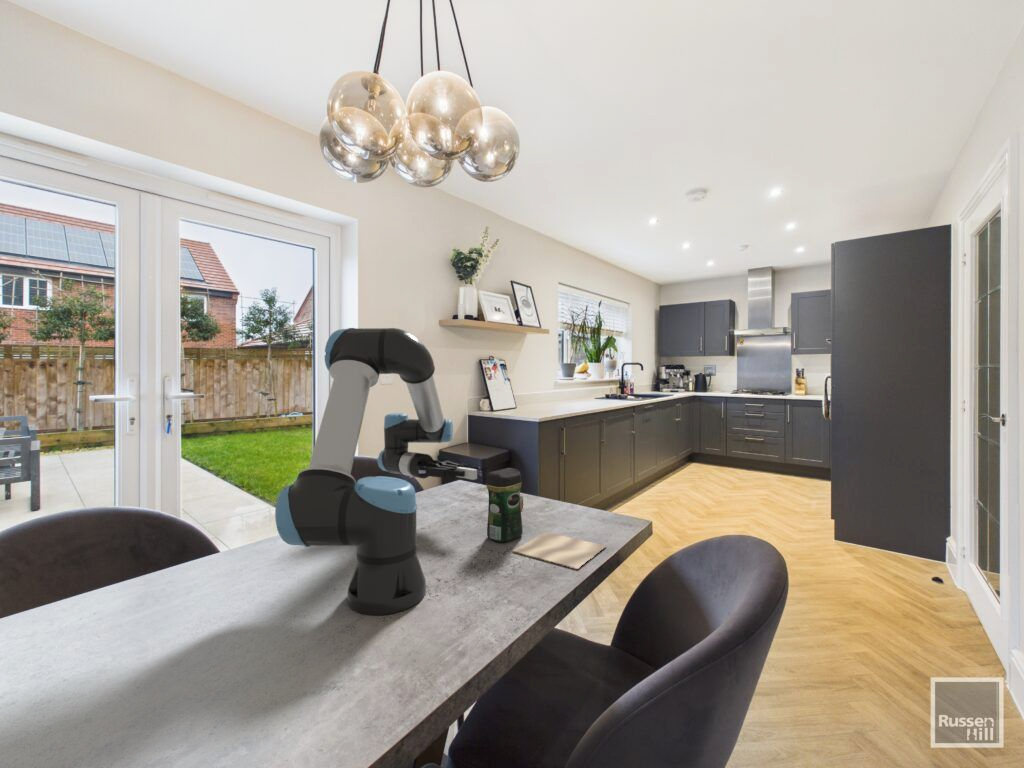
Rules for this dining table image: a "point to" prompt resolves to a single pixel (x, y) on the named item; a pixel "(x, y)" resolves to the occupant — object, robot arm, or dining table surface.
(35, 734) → the dining table surface
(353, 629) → the dining table surface
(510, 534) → the coffee jar
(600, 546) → the mat
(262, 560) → the dining table surface
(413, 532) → the robot arm
